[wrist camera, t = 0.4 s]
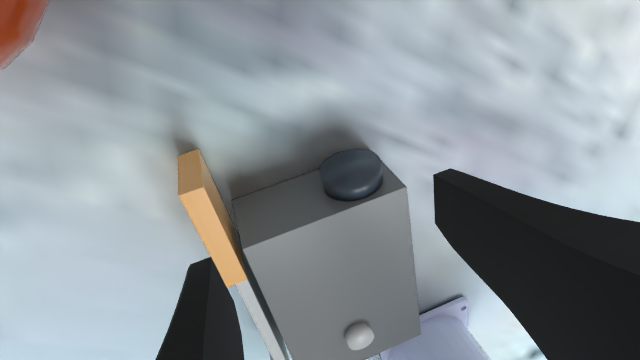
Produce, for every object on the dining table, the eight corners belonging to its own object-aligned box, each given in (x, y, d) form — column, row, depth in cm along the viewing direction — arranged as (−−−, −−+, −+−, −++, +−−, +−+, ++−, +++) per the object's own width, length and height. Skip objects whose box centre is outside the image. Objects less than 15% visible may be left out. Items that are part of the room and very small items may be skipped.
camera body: (392, 289, 28) (426, 342, 24) (287, 333, 27) (306, 396, 23) (368, 134, 21) (411, 175, 17) (223, 185, 20) (234, 242, 16)
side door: (282, 333, 26) (295, 380, 23) (267, 340, 26) (278, 388, 23) (198, 148, 18) (203, 186, 15) (175, 156, 18) (175, 196, 15)
